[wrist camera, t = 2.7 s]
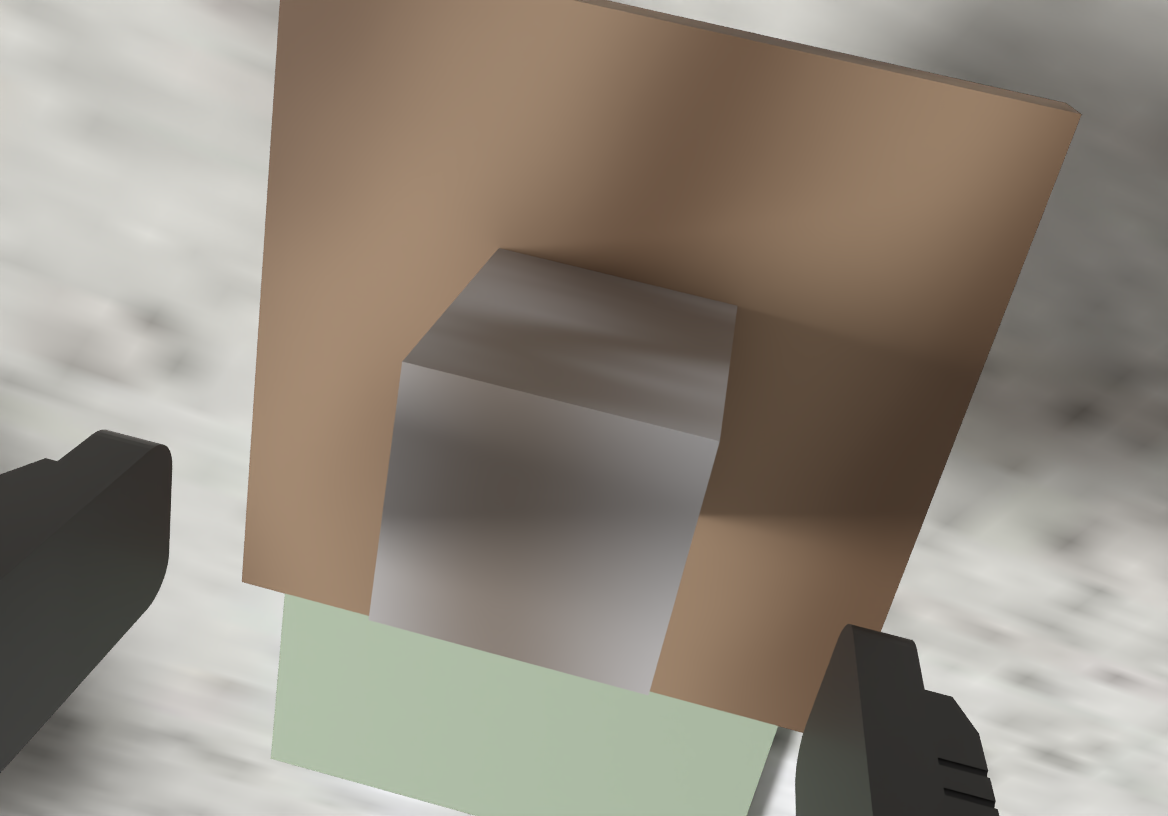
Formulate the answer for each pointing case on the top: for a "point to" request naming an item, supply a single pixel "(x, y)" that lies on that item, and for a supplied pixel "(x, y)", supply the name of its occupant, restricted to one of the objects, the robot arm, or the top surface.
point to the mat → (498, 728)
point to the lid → (621, 331)
